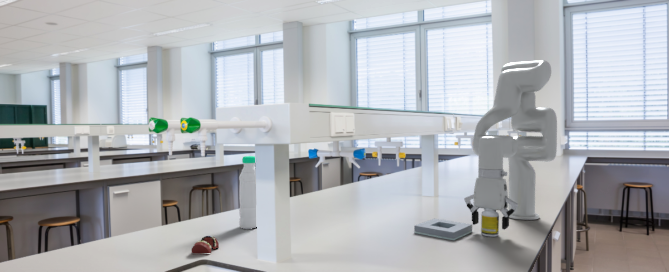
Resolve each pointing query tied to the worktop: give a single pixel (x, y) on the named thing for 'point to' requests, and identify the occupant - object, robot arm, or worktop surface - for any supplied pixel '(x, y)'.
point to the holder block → (443, 229)
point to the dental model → (205, 245)
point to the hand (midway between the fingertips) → (489, 226)
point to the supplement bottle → (489, 223)
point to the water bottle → (247, 194)
